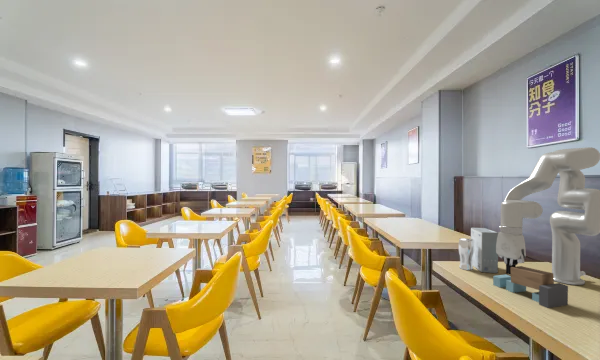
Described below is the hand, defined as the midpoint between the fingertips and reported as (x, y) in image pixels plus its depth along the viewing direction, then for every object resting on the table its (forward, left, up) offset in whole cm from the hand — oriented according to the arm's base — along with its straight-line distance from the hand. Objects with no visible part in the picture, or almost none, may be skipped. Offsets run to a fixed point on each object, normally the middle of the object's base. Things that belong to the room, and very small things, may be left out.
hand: (510, 273), depth 124 cm
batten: (-1, +11, -5) cm, 12 cm away
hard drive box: (-13, -25, -6) cm, 29 cm away
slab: (0, +9, -2) cm, 9 cm away
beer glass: (-4, -27, -6) cm, 28 cm away
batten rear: (0, -4, -6) cm, 7 cm away
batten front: (0, +2, -6) cm, 7 cm away
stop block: (0, +16, -6) cm, 18 cm away
